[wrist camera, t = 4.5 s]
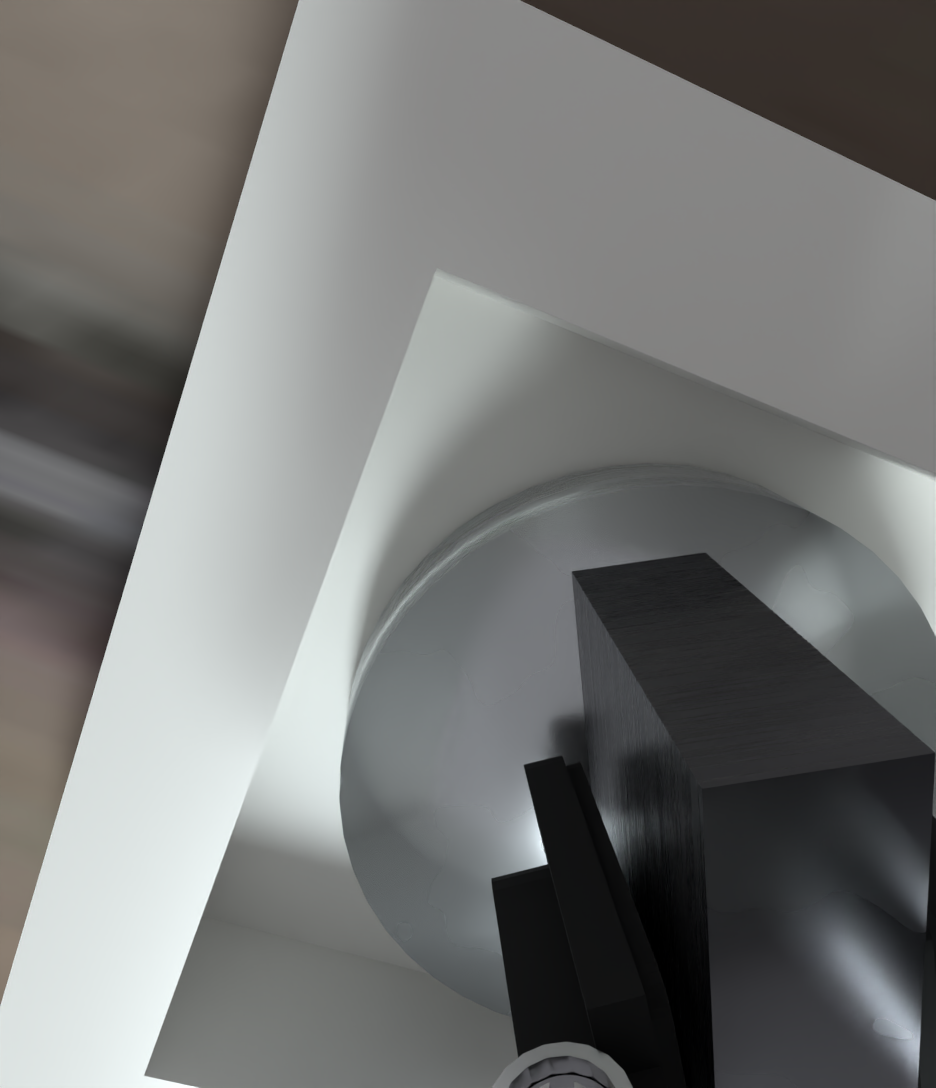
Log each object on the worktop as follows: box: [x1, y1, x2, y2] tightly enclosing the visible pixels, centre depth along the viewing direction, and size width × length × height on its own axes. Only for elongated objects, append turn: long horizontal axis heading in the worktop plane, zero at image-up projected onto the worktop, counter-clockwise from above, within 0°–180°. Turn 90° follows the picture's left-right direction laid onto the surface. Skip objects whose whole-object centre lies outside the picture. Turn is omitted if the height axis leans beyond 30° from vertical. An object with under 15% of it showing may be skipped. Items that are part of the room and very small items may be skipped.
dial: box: [339, 463, 936, 1088], centre depth 10 cm, size 9×9×7 cm
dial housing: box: [0, 0, 936, 1088], centre depth 13 cm, size 15×16×5 cm
